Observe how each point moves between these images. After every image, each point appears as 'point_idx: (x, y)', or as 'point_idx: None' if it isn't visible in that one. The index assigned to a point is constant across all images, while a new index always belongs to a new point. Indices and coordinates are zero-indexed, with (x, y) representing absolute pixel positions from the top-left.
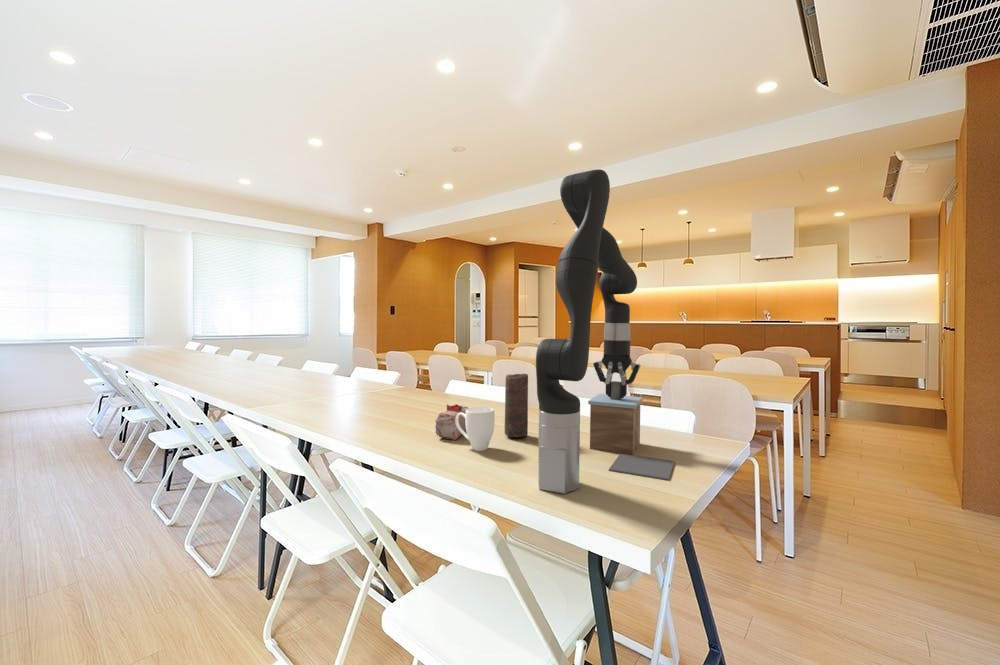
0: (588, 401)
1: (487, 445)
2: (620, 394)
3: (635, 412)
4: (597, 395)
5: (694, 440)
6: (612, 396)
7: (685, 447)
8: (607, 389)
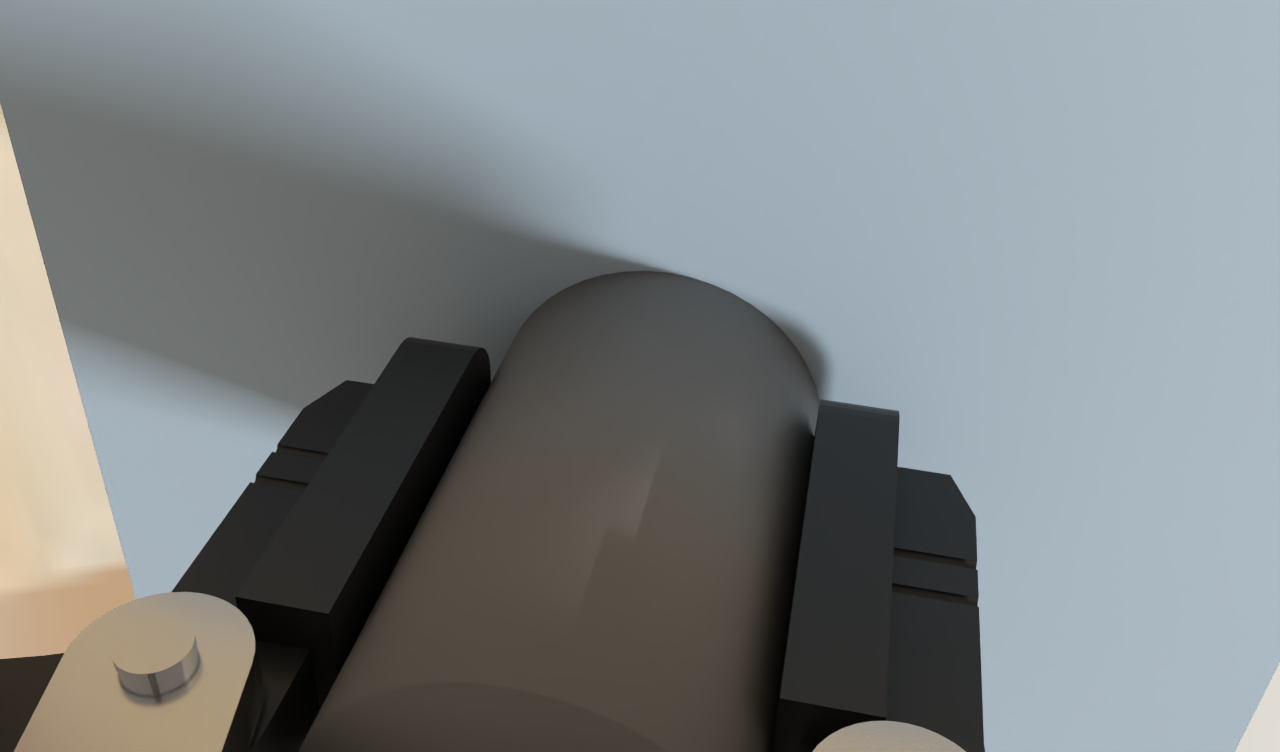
0: None
1: None
2: (470, 429)
3: None
4: (1222, 725)
5: (34, 498)
6: (729, 351)
7: (17, 236)
8: (906, 600)
